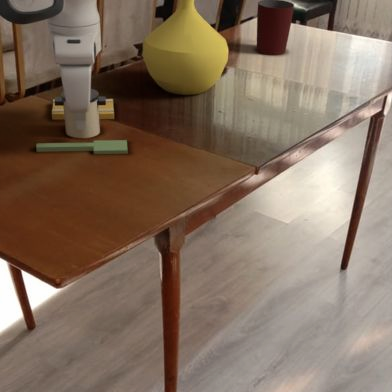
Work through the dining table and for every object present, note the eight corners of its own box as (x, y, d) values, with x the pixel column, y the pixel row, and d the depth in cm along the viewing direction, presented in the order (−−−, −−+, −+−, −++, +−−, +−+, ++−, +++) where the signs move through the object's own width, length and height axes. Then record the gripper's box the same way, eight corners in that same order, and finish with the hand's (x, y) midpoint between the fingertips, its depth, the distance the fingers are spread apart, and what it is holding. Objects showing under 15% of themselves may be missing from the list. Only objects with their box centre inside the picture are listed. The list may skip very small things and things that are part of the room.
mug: (261, 41, 168) (266, -5, 161) (293, 46, 166) (299, -1, 159) (249, 53, 159) (254, 5, 152) (283, 58, 157) (289, 10, 150)
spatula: (36, 155, 110) (35, 150, 109) (37, 145, 113) (37, 140, 113) (127, 154, 112) (127, 148, 111) (126, 144, 115) (126, 138, 114)
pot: (57, 139, 115) (52, 94, 110) (59, 125, 120) (54, 81, 115) (107, 139, 116) (105, 94, 111) (107, 124, 122) (104, 81, 116)
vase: (126, 84, 139) (123, -14, 127) (189, 69, 149) (191, -23, 136) (179, 108, 129) (181, 5, 117) (243, 91, 138) (251, -7, 126)
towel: (52, 120, 122) (51, 112, 121) (54, 105, 128) (53, 98, 127) (114, 119, 124) (113, 112, 123) (113, 104, 130) (112, 97, 129)
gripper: (59, 22, 115) (66, 98, 124) (53, 56, 100) (62, 141, 109) (93, 22, 116) (98, 98, 125) (93, 56, 101) (99, 140, 110)
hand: (81, 118), depth 117 cm, fingers open, 8 cm apart
